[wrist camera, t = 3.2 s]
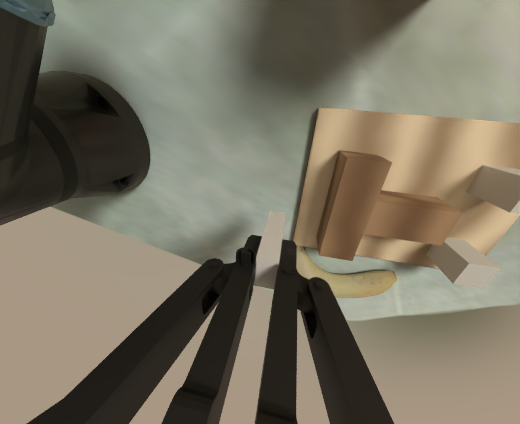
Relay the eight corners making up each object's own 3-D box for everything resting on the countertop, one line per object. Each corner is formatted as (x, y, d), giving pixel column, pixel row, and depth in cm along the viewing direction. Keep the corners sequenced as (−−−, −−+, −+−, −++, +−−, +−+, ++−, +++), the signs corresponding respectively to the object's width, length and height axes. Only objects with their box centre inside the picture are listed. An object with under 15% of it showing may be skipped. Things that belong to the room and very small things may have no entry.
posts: (426, 254, 25) (452, 283, 21) (482, 165, 20) (535, 180, 15) (450, 257, 25) (483, 288, 21) (515, 168, 19) (579, 184, 15)
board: (292, 240, 29) (292, 244, 28) (318, 107, 21) (319, 107, 20) (465, 268, 26) (470, 273, 26) (577, 128, 18) (591, 129, 17)
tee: (316, 236, 27) (319, 255, 24) (338, 150, 21) (347, 157, 18) (406, 251, 26) (423, 272, 22) (456, 162, 20) (490, 172, 16)
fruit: (369, 295, 32) (377, 313, 29) (283, 271, 33) (282, 287, 30) (392, 265, 29) (403, 282, 26) (295, 239, 29) (295, 253, 27)
